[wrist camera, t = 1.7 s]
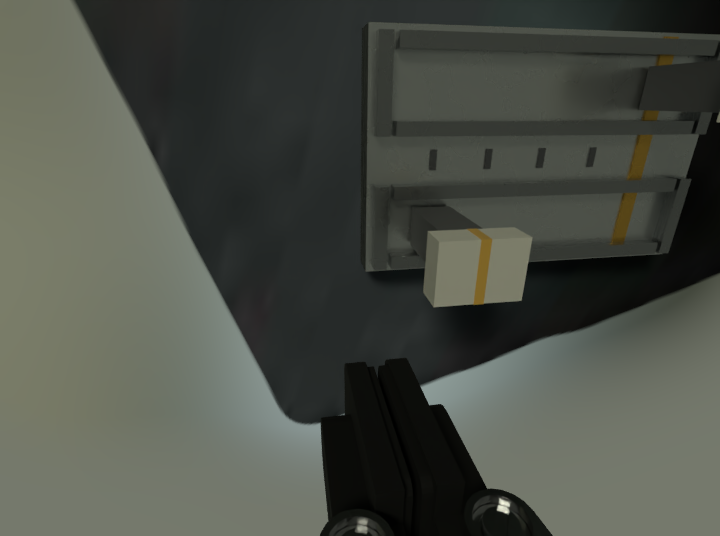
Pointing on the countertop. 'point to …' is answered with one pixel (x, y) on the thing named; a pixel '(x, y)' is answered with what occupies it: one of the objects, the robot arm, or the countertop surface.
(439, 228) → the fader knob
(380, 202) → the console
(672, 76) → the white striped slider handle
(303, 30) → the countertop surface
